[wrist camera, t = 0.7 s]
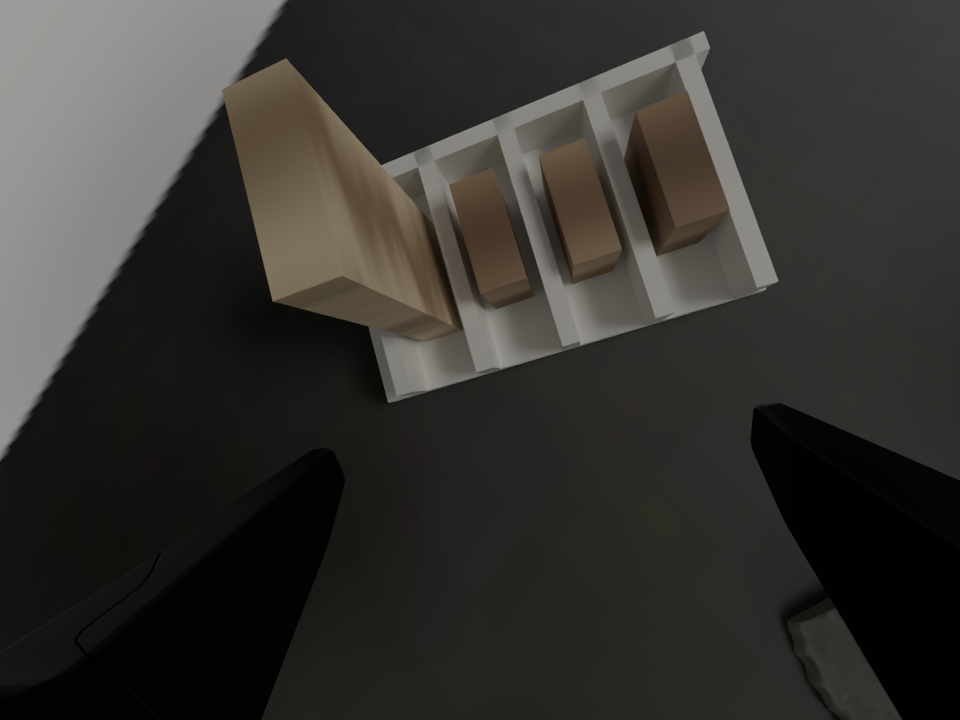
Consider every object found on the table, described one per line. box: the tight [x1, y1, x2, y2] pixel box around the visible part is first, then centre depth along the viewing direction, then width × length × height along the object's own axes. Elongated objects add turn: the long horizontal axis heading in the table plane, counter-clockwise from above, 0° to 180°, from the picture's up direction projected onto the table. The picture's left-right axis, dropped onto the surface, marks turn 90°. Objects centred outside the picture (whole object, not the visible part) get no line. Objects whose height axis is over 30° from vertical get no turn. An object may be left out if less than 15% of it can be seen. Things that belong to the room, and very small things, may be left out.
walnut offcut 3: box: [624, 91, 730, 257], centre depth 19 cm, size 5×2×4 cm, turn 16°
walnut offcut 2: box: [539, 138, 622, 284], centre depth 19 cm, size 5×2×4 cm, turn 16°
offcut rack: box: [368, 31, 778, 403], centre depth 21 cm, size 11×19×3 cm, turn 106°
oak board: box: [222, 59, 463, 342], centre depth 17 cm, size 6×2×12 cm, turn 16°
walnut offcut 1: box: [449, 168, 534, 309], centre depth 20 cm, size 5×2×4 cm, turn 16°
